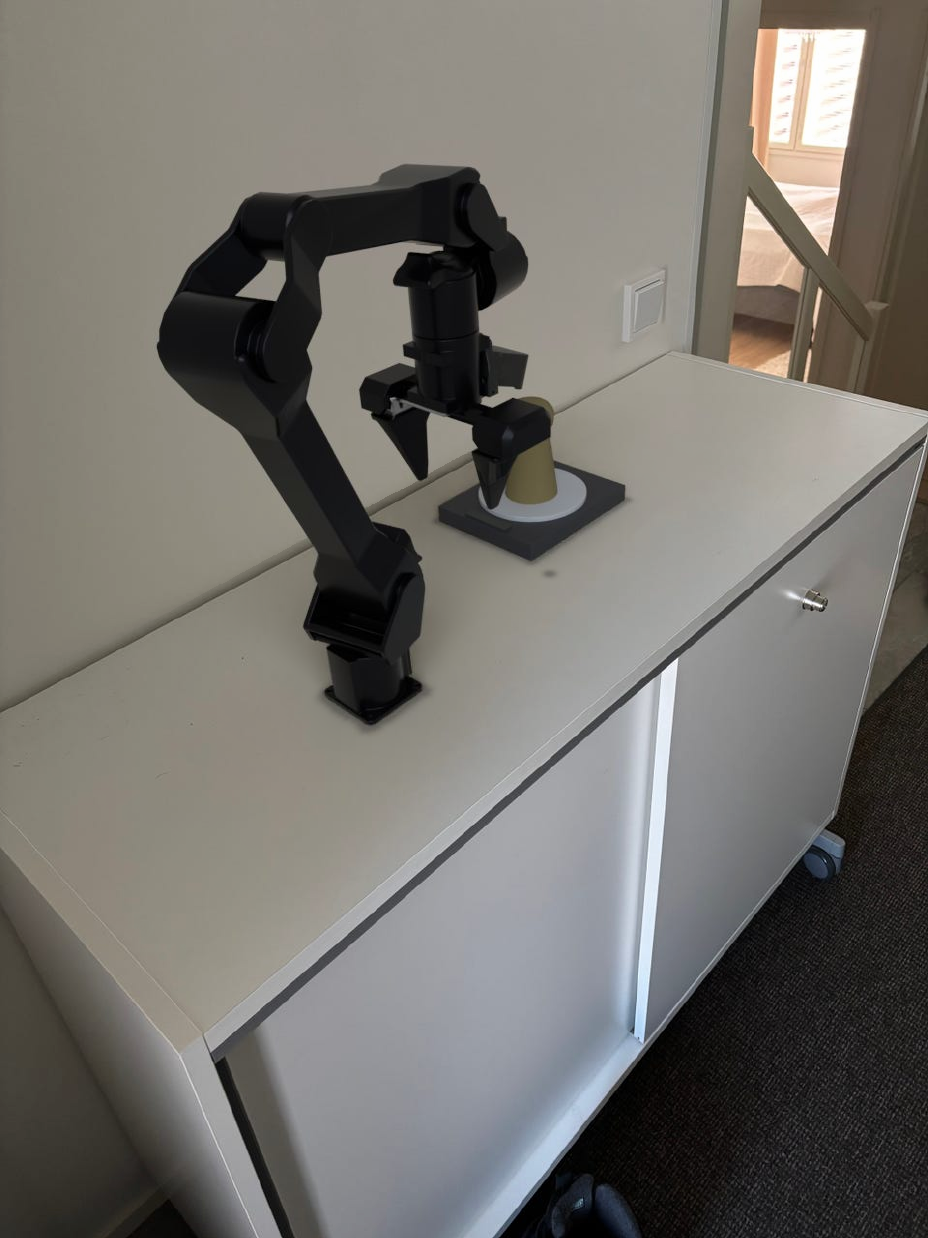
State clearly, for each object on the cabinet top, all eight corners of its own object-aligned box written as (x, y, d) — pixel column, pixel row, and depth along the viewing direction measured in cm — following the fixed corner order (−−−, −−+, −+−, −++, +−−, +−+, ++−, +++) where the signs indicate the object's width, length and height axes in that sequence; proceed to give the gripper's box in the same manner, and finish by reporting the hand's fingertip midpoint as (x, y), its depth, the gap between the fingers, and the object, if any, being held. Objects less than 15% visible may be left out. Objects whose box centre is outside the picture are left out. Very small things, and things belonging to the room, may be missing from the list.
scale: (531, 561, 98) (531, 540, 97) (438, 520, 107) (437, 501, 105) (624, 500, 108) (625, 480, 107) (533, 467, 116) (532, 448, 115)
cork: (566, 485, 106) (567, 395, 100) (541, 509, 102) (540, 416, 96) (521, 475, 109) (519, 386, 103) (495, 497, 105) (491, 406, 99)
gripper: (592, 322, 77) (588, 489, 86) (434, 286, 87) (445, 437, 97) (504, 362, 70) (510, 538, 80) (345, 318, 81) (366, 477, 90)
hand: (456, 492), depth 87 cm, fingers open, 9 cm apart
